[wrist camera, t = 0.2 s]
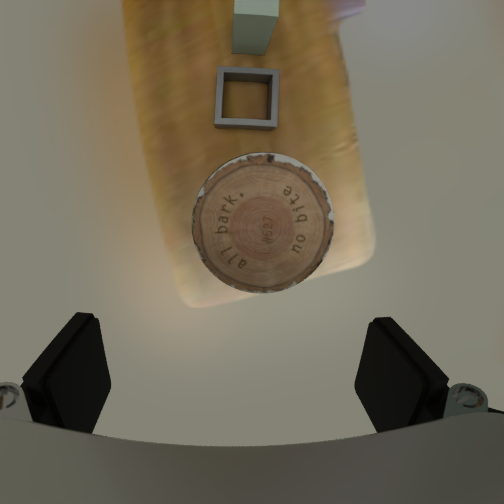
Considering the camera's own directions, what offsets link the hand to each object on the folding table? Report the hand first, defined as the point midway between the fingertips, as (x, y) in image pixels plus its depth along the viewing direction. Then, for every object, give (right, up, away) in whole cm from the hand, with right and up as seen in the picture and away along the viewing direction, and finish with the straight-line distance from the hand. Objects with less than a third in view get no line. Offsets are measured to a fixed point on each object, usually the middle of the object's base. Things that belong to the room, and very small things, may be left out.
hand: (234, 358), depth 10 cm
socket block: (0, +22, +26) cm, 34 cm away
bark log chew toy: (-1, +12, +29) cm, 31 cm away
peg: (0, +30, +24) cm, 38 cm away
